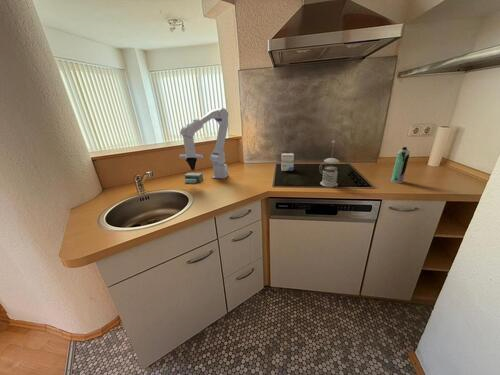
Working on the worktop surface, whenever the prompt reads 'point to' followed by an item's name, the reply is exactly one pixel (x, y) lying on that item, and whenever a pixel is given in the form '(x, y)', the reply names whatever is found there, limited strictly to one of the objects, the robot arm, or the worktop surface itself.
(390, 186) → the worktop surface
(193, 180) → the tray shell
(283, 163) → the ink box
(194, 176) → the low shelf
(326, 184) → the french press
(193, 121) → the robot arm
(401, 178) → the spray can
